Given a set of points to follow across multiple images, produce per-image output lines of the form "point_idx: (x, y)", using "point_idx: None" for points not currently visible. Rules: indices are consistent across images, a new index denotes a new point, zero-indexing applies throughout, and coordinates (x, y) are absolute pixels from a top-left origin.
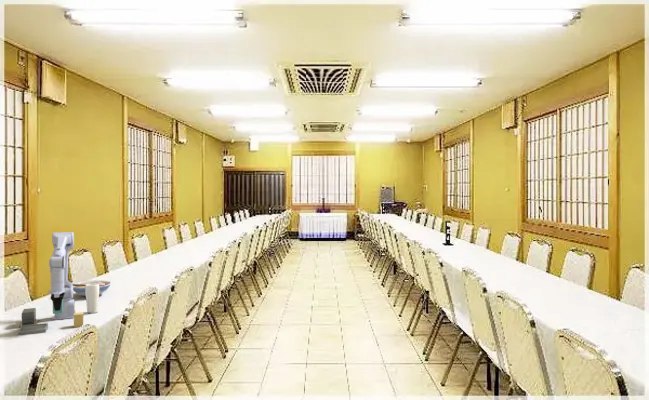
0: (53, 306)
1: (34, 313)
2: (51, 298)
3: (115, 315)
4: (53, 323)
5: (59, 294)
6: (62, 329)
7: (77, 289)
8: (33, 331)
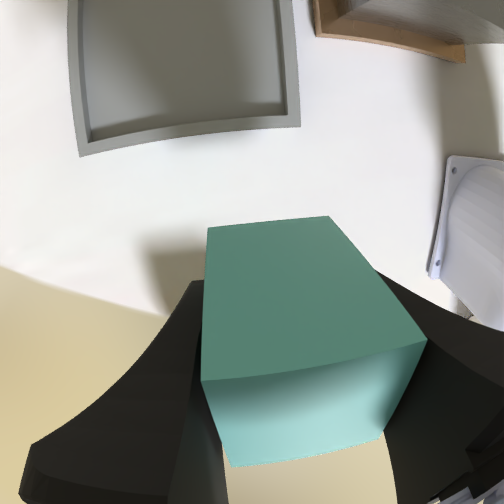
0: (205, 301)
1: (429, 8)
2: (29, 461)
3: None
4: (362, 161)
5: (428, 485)
6: (145, 256)
7: None
8: (72, 67)
